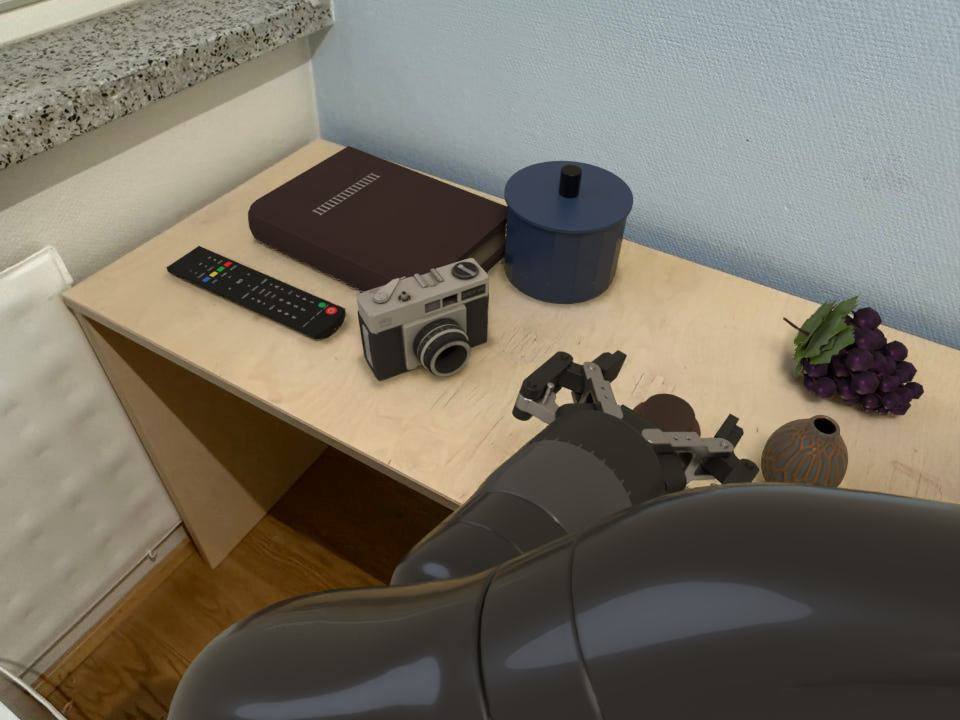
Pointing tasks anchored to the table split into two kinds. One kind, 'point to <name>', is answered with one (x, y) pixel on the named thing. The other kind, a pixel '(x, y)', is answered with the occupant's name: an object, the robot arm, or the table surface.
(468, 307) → the camera
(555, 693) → the robot arm
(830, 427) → the vase
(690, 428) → the pepper mill
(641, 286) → the table surface
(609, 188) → the pot lid
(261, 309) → the remote control
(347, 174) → the brown slab
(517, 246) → the pot
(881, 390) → the fruit
